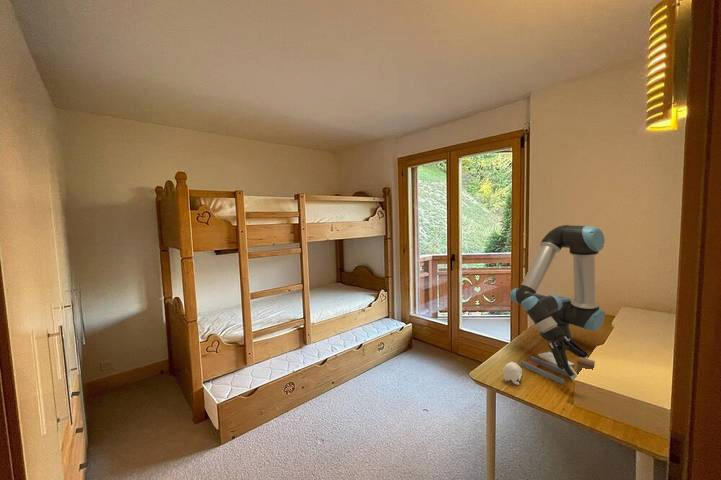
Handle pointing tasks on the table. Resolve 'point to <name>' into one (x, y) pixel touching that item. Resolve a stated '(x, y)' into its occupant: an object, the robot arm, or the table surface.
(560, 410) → the table surface
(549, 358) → the external hard drive
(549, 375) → the channel
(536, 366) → the pad
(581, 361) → the walnut block
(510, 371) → the white figurine
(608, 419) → the table surface
